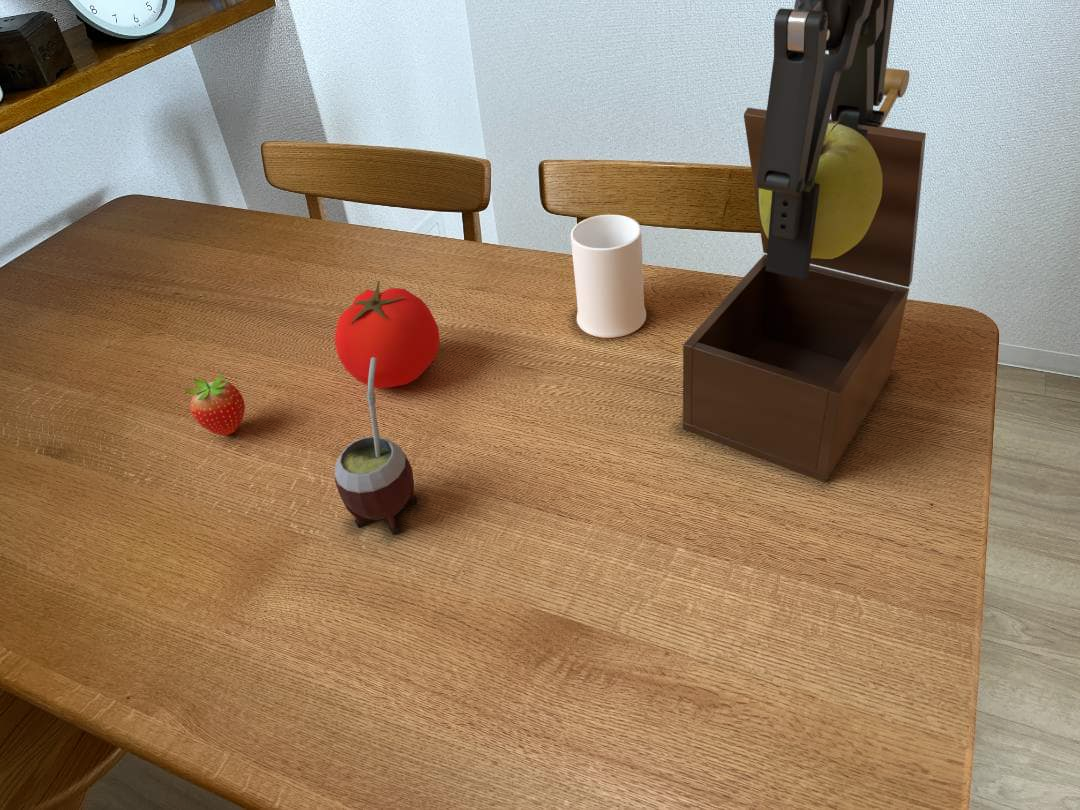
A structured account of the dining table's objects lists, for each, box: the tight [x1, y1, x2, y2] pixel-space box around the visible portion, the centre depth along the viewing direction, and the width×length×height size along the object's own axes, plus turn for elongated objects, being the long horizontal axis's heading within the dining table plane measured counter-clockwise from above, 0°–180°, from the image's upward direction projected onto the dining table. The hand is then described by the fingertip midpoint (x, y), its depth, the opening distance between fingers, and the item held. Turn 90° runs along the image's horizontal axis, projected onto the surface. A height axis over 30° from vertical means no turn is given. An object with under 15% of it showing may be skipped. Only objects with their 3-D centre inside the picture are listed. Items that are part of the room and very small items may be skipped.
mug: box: [570, 214, 647, 339], centre depth 97 cm, size 12×8×12 cm
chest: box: [682, 253, 910, 483], centre depth 81 cm, size 18×15×11 cm
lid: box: [743, 67, 927, 288], centre depth 76 cm, size 19×15×10 cm
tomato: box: [334, 280, 441, 389], centre depth 92 cm, size 12×12×11 cm
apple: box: [759, 114, 883, 259], centre depth 54 cm, size 8×8×10 cm
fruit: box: [182, 373, 246, 436], centre depth 88 cm, size 5×5×8 cm
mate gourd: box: [334, 358, 418, 536], centre depth 75 cm, size 8×8×15 cm
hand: (811, 242), depth 57 cm, fingers closed on apple, 8 cm apart
